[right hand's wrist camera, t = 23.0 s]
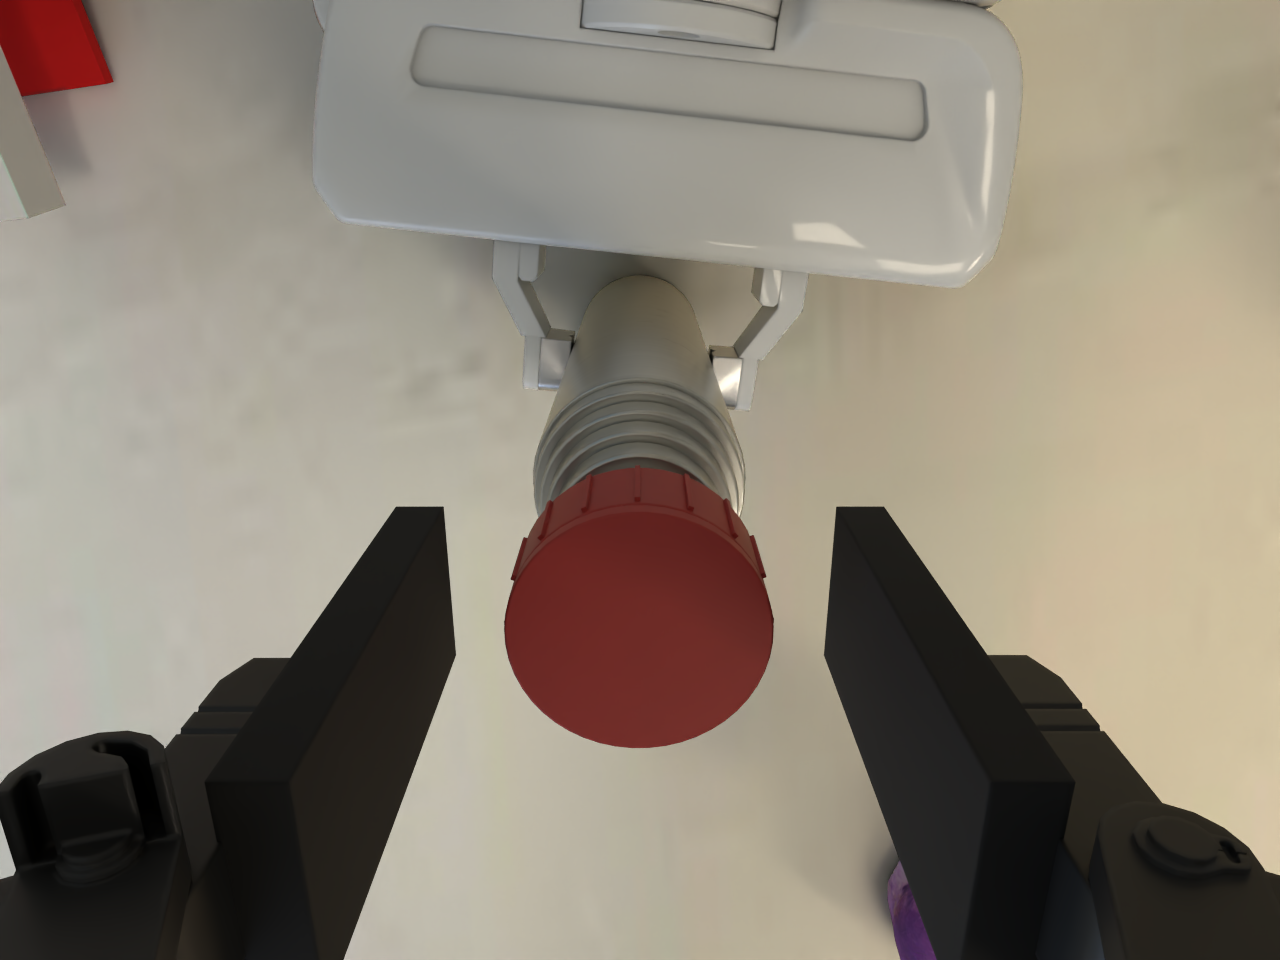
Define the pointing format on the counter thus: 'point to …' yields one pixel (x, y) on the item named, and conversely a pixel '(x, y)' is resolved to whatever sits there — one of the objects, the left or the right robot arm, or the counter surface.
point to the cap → (638, 609)
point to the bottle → (639, 397)
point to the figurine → (907, 920)
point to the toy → (38, 92)
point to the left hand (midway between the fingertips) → (638, 396)
